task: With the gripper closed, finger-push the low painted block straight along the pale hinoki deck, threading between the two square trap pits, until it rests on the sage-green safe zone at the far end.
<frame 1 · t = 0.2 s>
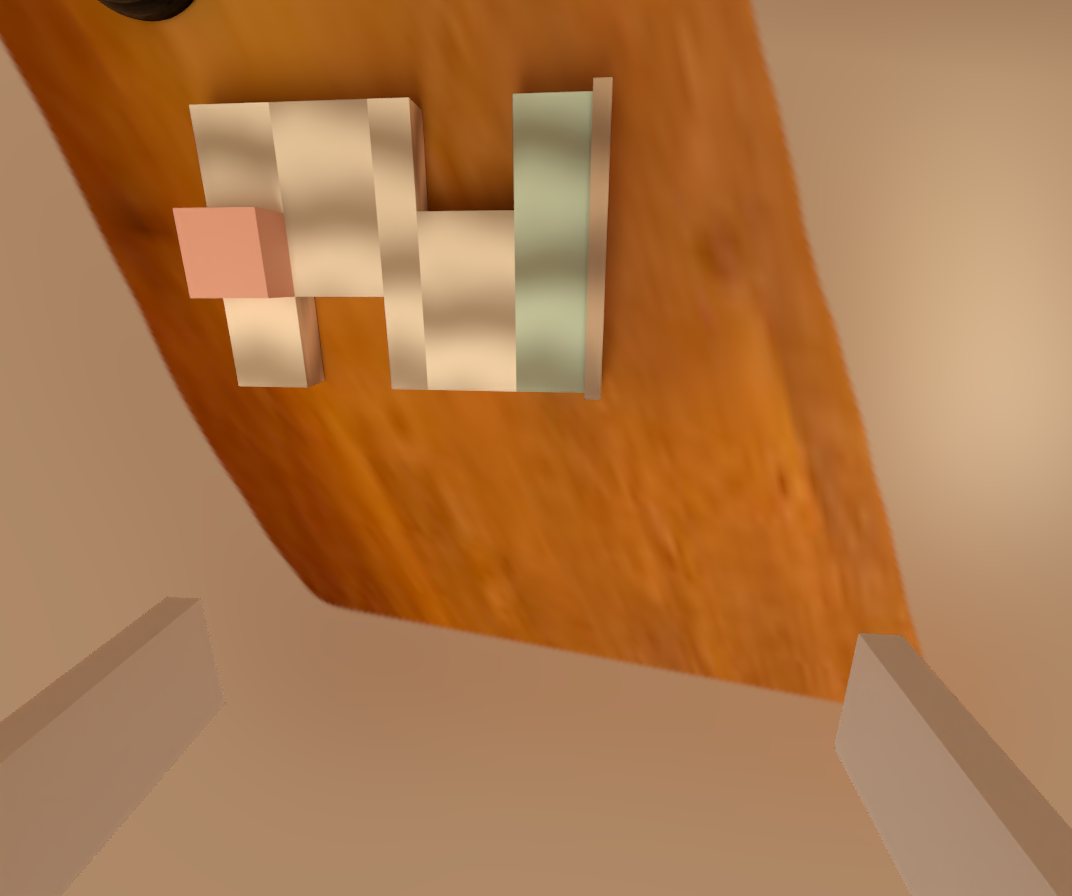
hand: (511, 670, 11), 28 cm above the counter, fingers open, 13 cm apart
deck: (408, 256, 35), on the counter
block: (252, 256, 34), point 2 cm above the counter, touching deck
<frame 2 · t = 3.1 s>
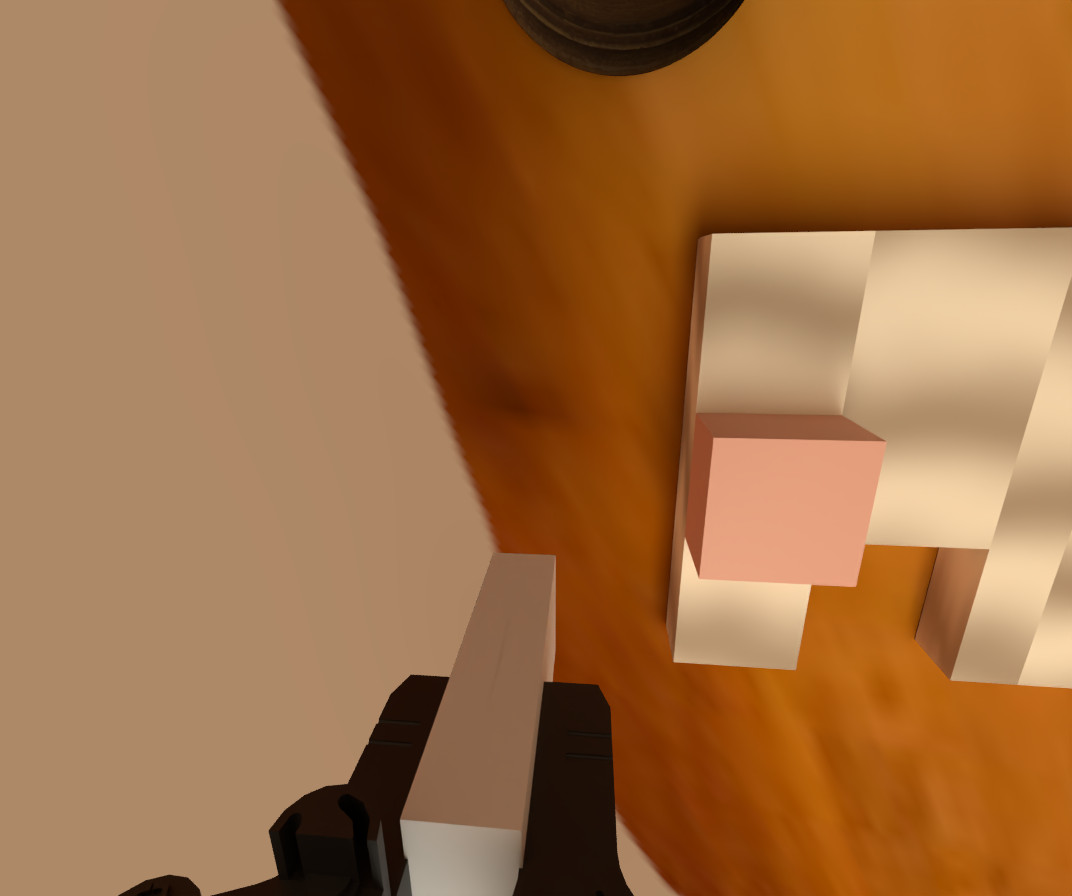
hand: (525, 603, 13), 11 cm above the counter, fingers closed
deck: (989, 463, 21), on the counter
block: (759, 479, 19), point 2 cm above the counter, touching deck
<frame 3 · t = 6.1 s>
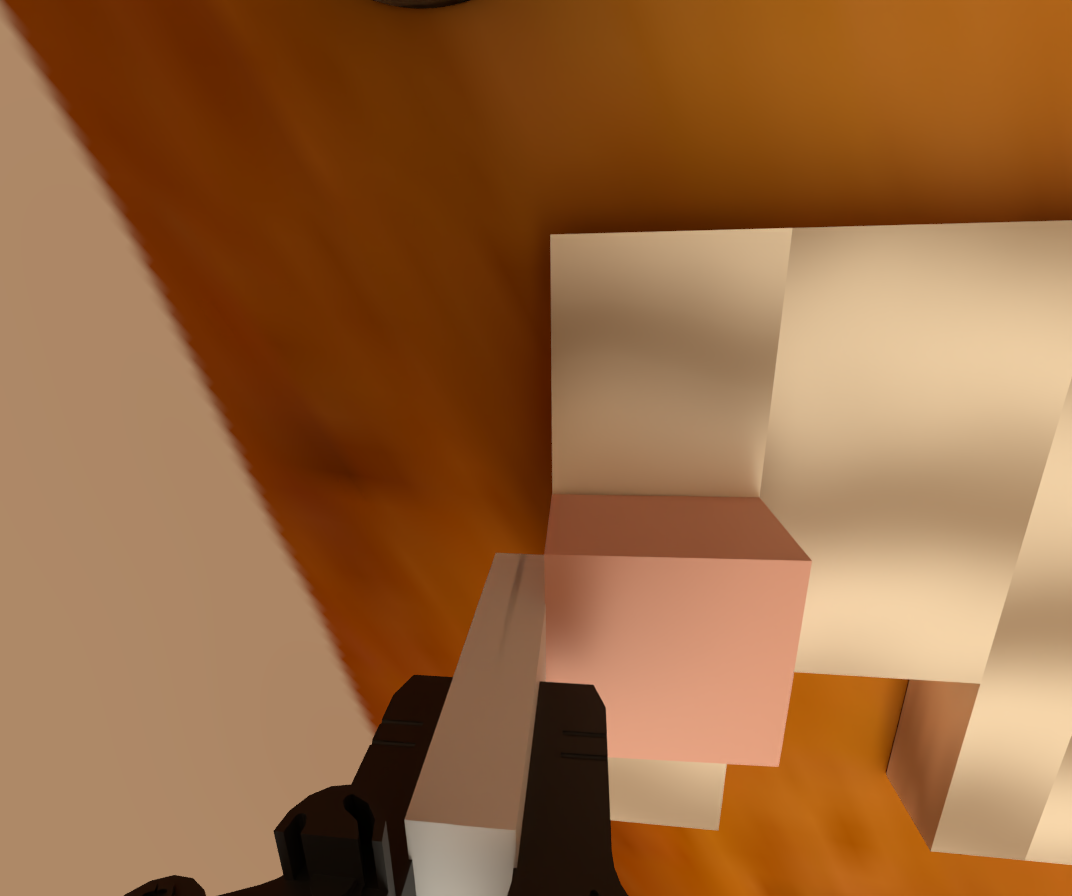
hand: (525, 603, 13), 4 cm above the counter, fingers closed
deck: (979, 550, 15), on the counter
block: (649, 584, 14), point 3 cm above the counter, touching deck, gripper
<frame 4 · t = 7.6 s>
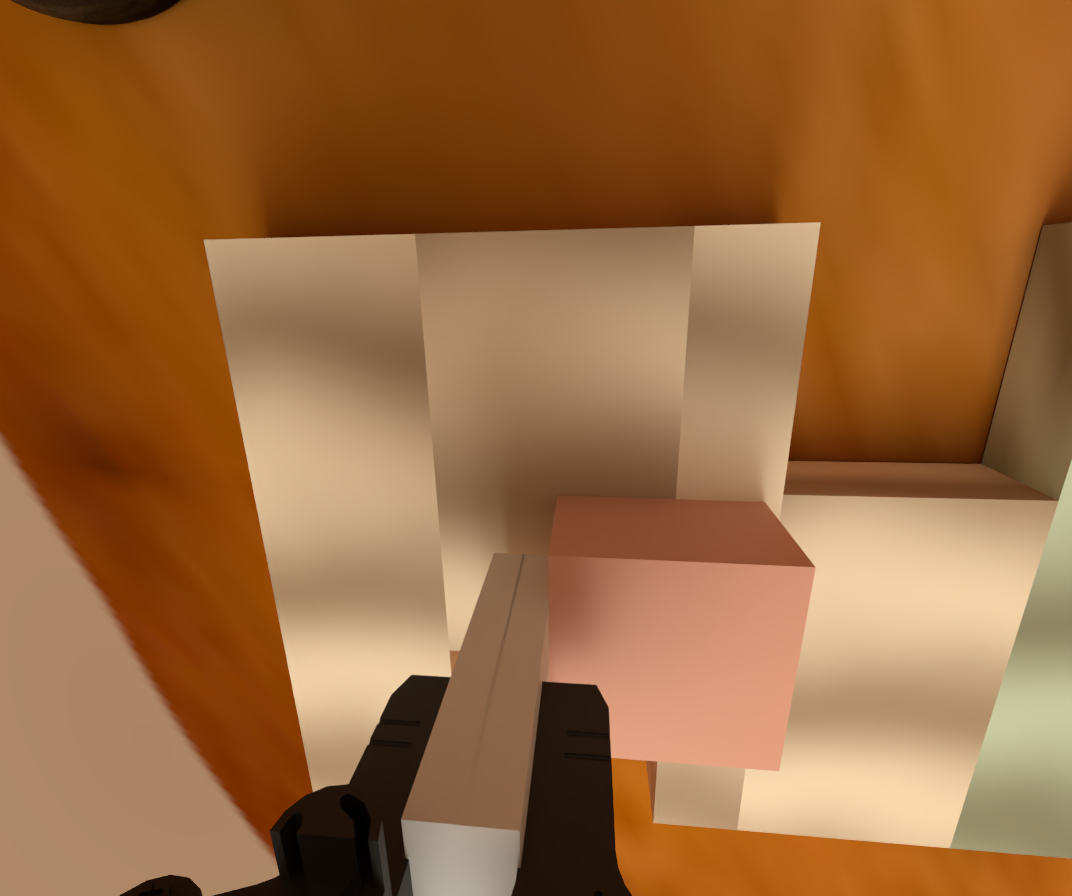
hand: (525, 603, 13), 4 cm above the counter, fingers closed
deck: (692, 537, 16), on the counter
block: (653, 587, 14), point 3 cm above the counter, touching deck, gripper
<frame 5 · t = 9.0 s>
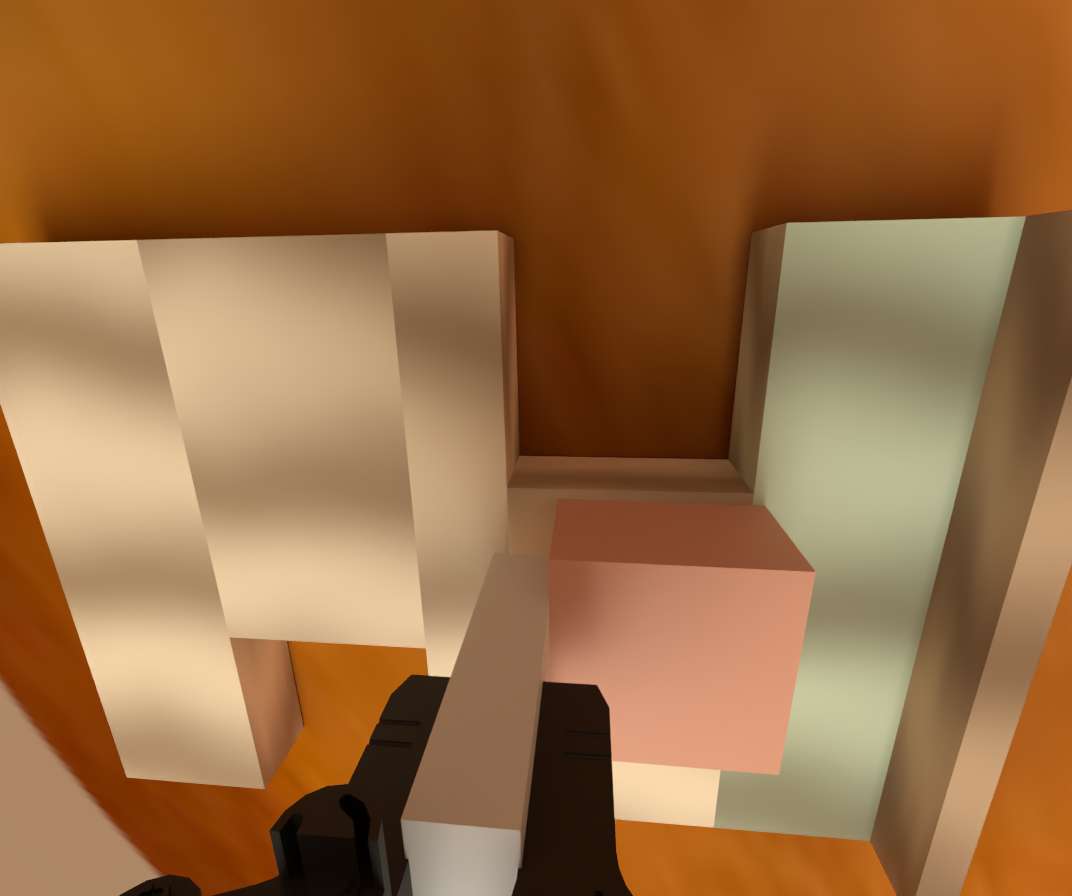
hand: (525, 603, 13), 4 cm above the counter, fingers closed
deck: (474, 530, 16), on the counter
block: (653, 590, 14), point 3 cm above the counter, touching gripper
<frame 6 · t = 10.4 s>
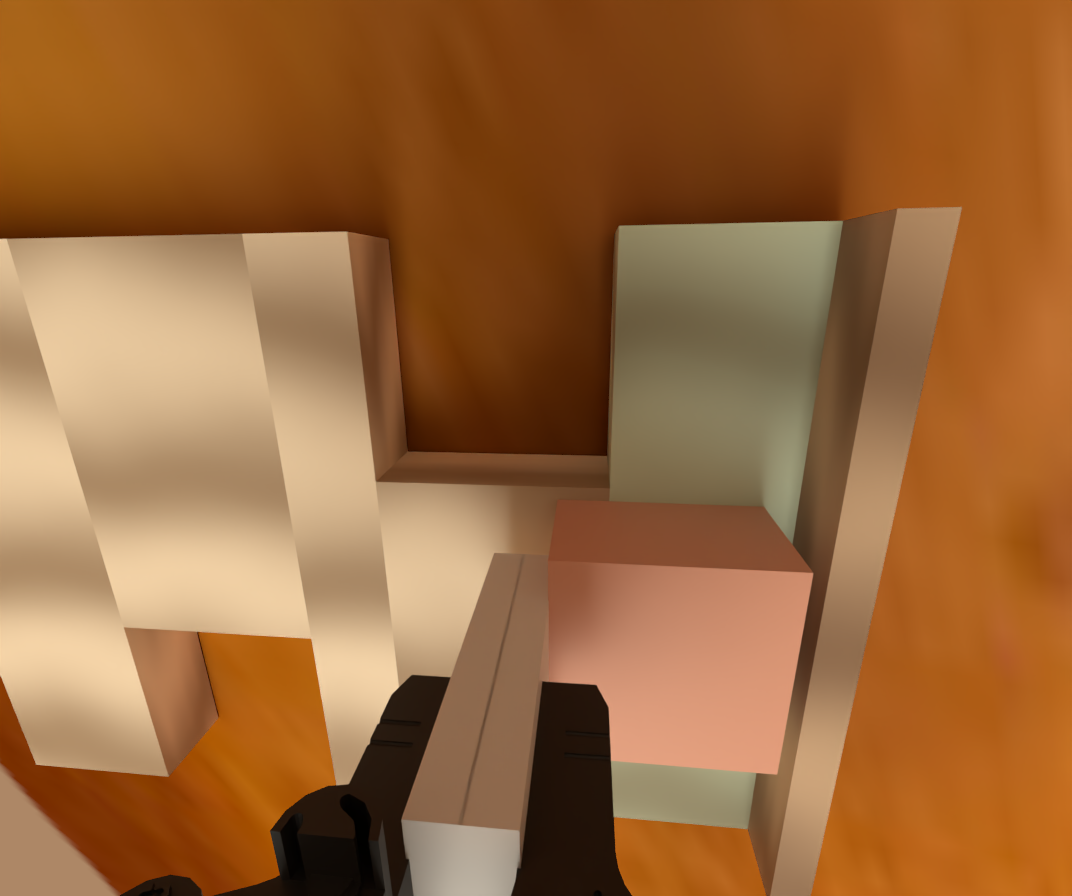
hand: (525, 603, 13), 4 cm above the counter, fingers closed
deck: (369, 524, 17), on the counter
block: (652, 590, 14), point 2 cm above the counter, touching deck, gripper
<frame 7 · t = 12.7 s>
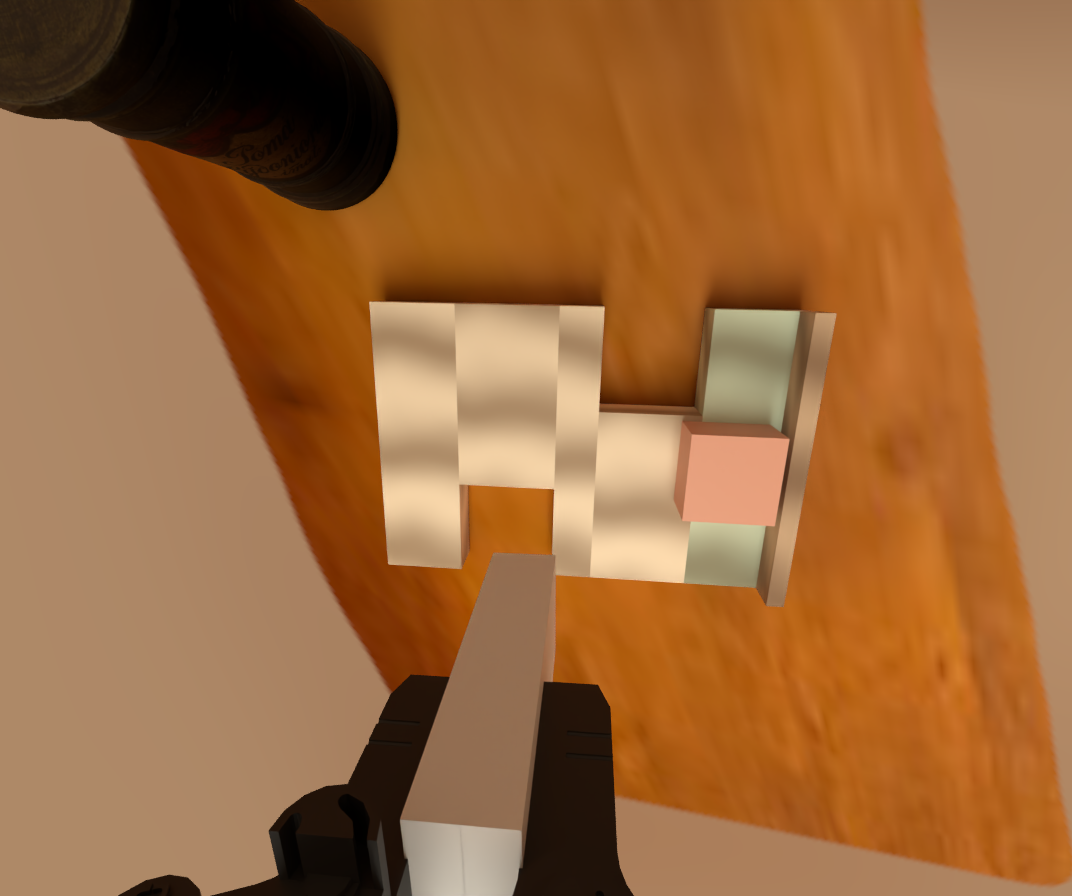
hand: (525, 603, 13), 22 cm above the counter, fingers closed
container: (325, 129, 30), on the counter
deck: (572, 440, 34), on the counter
block: (720, 463, 31), point 2 cm above the counter, touching deck
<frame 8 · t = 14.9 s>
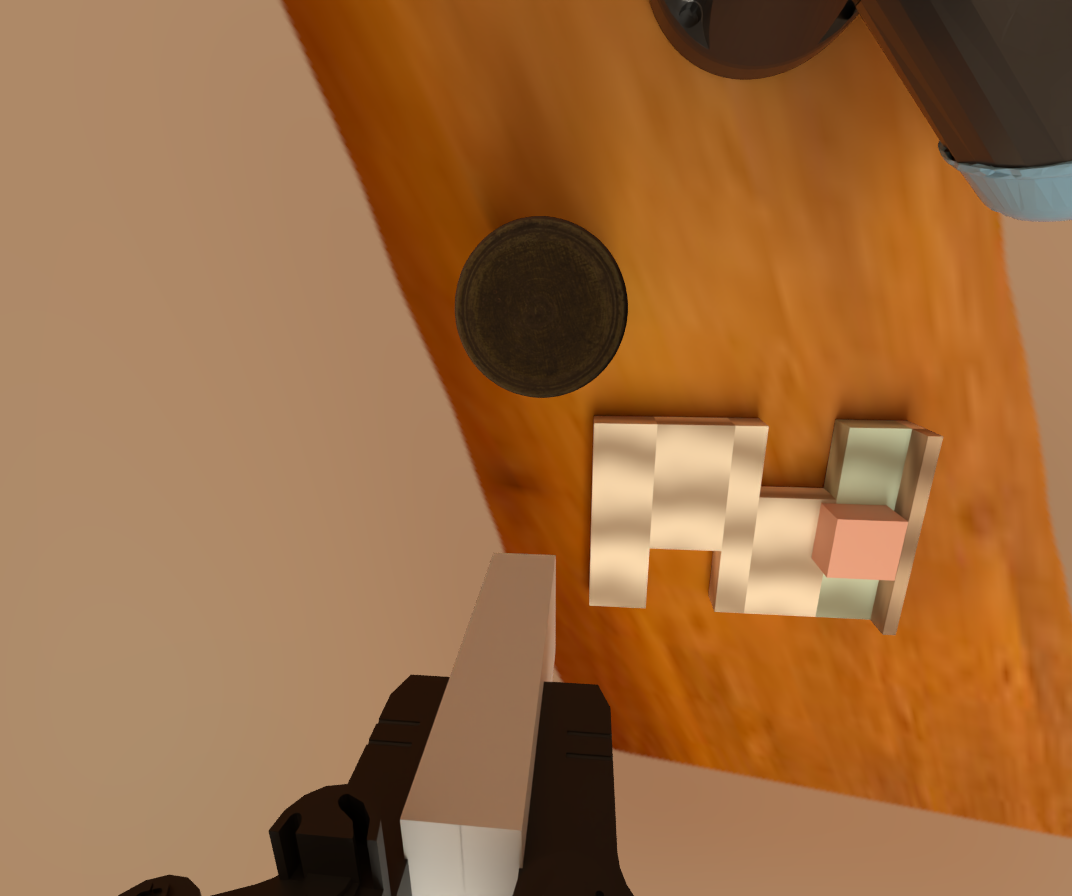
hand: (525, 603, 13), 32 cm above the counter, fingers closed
container: (559, 299, 42), on the counter
deck: (729, 512, 46), on the counter
block: (848, 532, 43), point 2 cm above the counter, touching deck
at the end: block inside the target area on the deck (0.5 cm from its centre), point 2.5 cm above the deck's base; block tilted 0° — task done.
